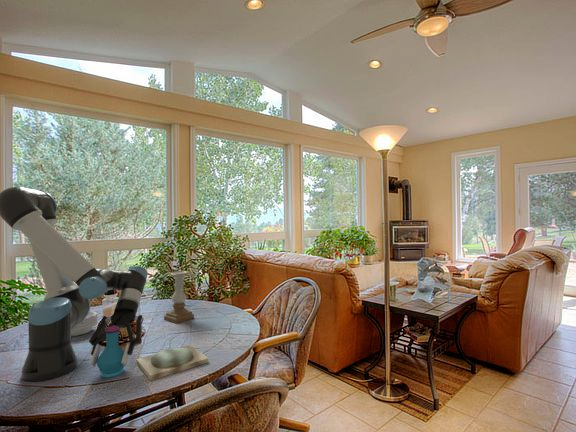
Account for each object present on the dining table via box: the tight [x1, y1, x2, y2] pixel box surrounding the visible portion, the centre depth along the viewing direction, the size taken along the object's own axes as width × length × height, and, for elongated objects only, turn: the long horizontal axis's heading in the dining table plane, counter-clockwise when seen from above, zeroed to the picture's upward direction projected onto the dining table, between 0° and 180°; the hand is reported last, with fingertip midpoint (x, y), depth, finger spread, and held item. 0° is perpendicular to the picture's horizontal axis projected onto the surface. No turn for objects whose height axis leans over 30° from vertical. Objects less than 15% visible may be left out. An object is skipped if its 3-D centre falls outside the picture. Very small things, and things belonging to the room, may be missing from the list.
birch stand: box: [135, 344, 209, 381], centre depth 115 cm, size 20×16×2 cm
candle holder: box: [163, 270, 195, 324], centre depth 166 cm, size 11×11×24 cm
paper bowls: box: [71, 310, 98, 337], centre depth 146 cm, size 15×15×8 cm
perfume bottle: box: [96, 325, 126, 378], centre depth 108 cm, size 9×9×15 cm
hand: (107, 365), depth 105 cm, fingers closed on perfume bottle, 9 cm apart
